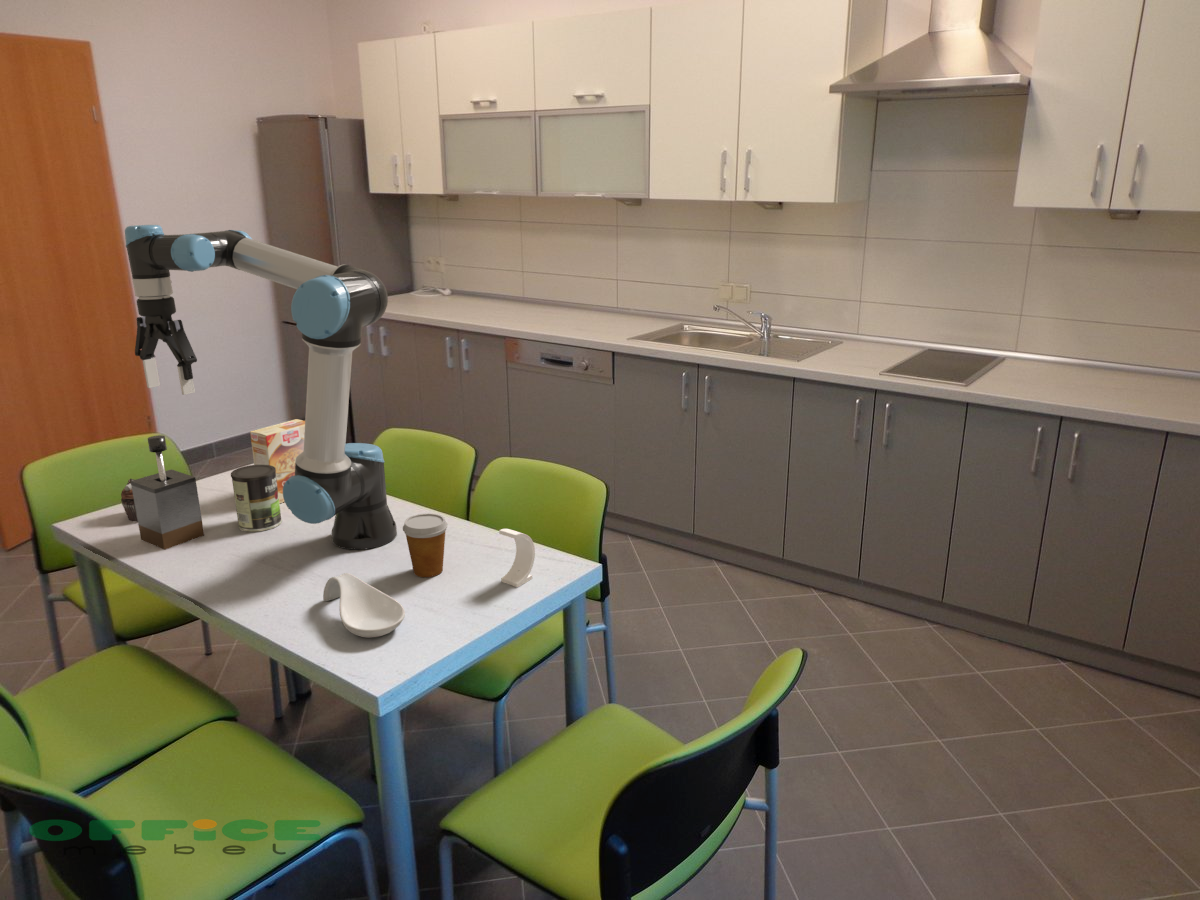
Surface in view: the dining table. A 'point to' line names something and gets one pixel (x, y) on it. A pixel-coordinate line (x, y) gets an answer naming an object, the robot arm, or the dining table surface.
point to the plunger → (158, 453)
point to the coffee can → (256, 497)
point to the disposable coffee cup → (426, 543)
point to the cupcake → (129, 502)
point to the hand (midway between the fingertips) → (171, 390)
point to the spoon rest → (364, 606)
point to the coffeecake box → (279, 449)
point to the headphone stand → (520, 558)
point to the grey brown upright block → (167, 509)
